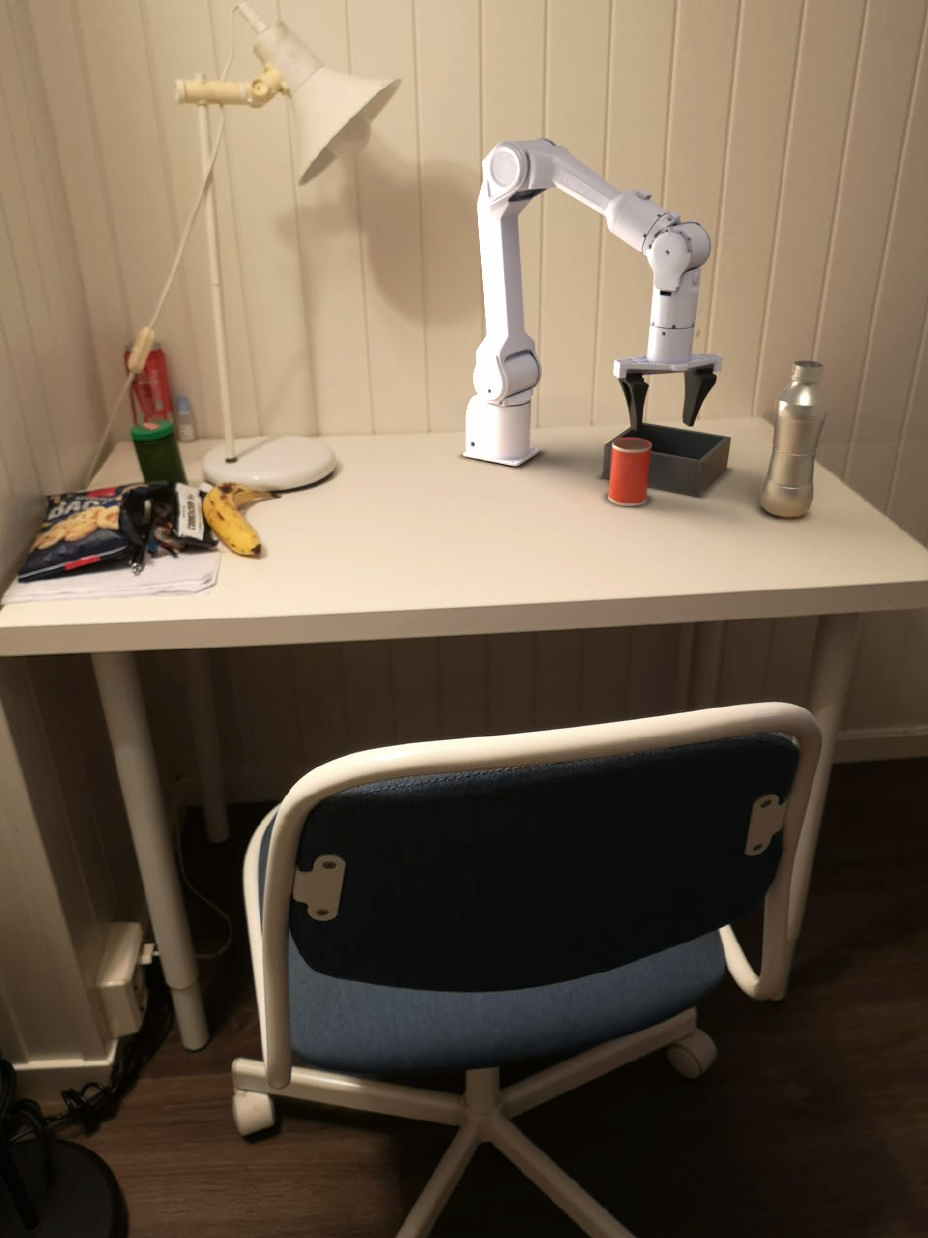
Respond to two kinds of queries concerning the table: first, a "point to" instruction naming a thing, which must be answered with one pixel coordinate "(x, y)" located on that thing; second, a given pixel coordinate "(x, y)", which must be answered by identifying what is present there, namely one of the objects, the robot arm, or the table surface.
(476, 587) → the table surface
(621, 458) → the tin can
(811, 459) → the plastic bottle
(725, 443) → the drawer
